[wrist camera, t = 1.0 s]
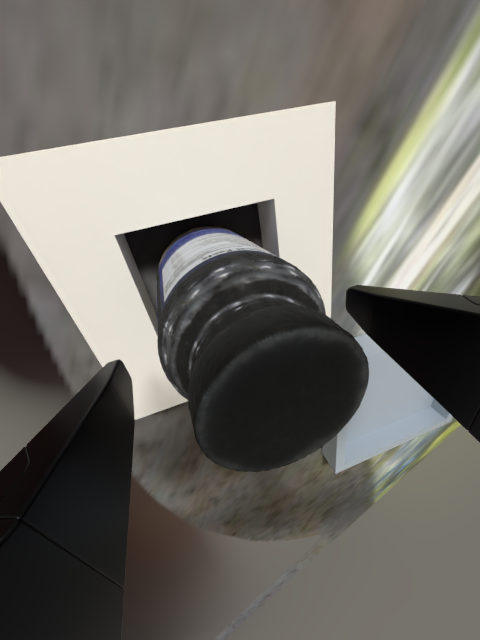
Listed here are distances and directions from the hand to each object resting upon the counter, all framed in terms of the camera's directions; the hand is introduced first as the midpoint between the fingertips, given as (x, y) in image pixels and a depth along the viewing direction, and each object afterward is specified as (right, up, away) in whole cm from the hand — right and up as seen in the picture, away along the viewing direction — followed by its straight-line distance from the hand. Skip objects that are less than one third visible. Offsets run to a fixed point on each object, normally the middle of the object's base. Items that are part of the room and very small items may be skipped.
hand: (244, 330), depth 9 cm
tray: (+16, -6, +17) cm, 24 cm away
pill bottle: (-2, +3, +6) cm, 7 cm away
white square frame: (-2, +3, +6) cm, 7 cm away
